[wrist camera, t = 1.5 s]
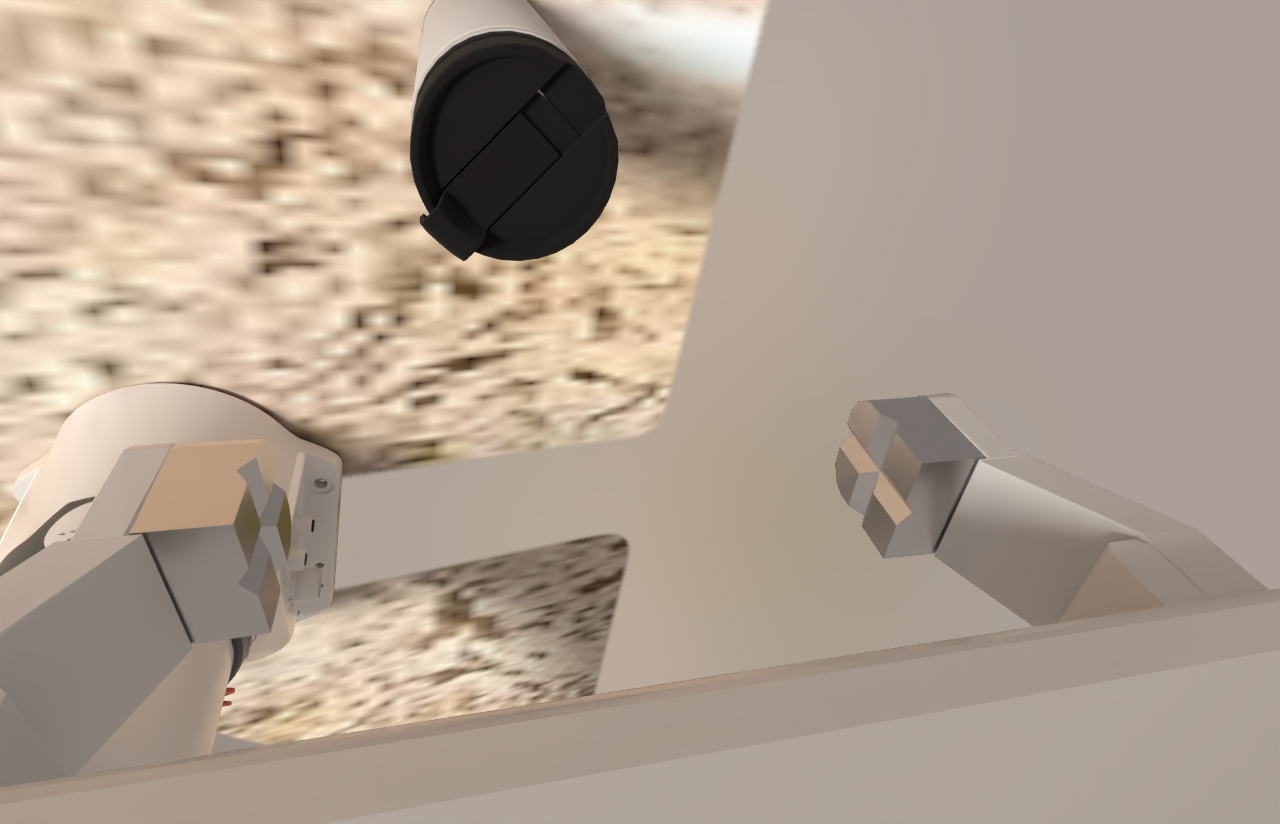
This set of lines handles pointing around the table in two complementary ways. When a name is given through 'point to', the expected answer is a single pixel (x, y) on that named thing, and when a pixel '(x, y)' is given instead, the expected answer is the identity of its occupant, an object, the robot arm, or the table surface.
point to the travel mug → (506, 133)
